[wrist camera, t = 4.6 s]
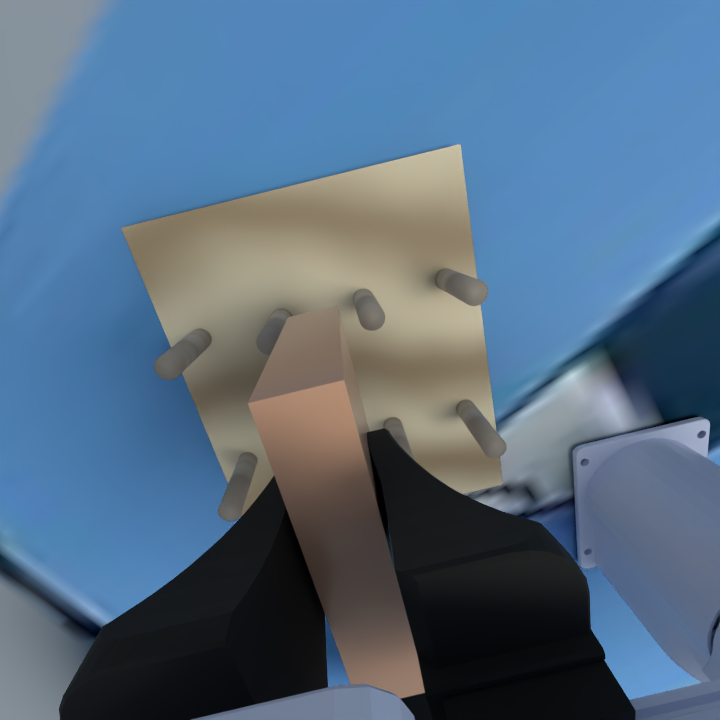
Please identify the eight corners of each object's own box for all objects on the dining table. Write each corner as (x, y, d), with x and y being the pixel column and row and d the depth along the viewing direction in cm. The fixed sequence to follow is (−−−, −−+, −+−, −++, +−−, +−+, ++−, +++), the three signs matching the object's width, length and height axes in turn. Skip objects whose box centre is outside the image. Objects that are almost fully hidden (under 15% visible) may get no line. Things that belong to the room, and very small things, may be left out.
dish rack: (497, 476, 23) (537, 536, 19) (255, 533, 23) (237, 607, 19) (454, 147, 17) (498, 120, 13) (130, 227, 17) (59, 228, 13)
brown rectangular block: (388, 507, 17) (427, 692, 10) (348, 516, 17) (359, 707, 10) (337, 305, 14) (344, 379, 7) (287, 317, 14) (247, 402, 7)
